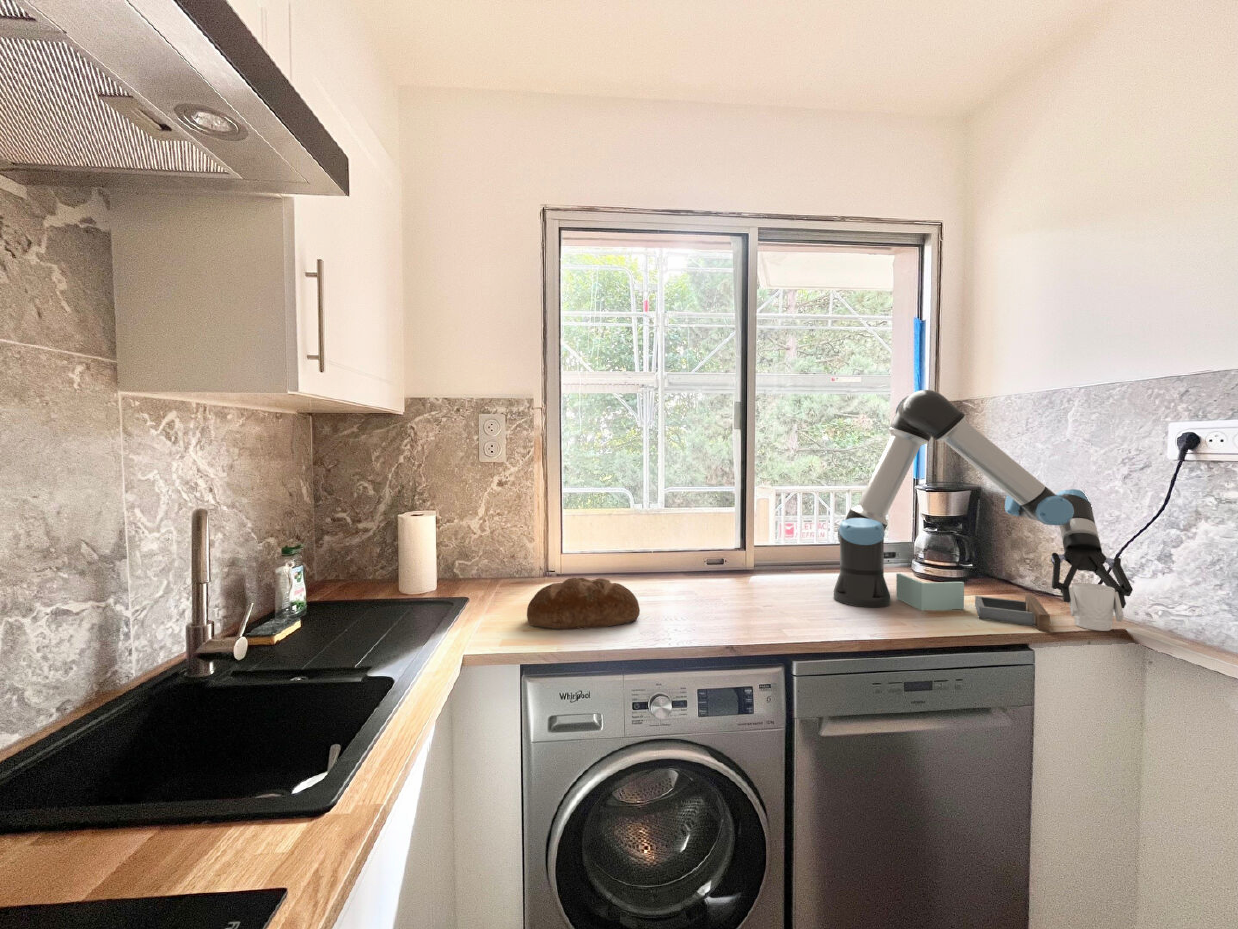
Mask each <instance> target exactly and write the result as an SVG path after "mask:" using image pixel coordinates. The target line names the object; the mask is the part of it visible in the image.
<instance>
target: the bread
mask: <svg viewBox="0 0 1238 929" xmlns="http://www.w3.org/2000/svg"><path fill="white" fill-rule="evenodd" d="M640 612H641V609H640V605H639V601H638V598H637V597H636V596H635V594H634V593H633V591H631V590H630V589H628V588H627V587H626V586H624V585H622V584H620V583H619V582H611V581H610V580H609V579H607V578H606V579H605V578H602V577H601V578H596V579H591V580H590V579H588V578H584V577H570V578H567V579H565V580H564V581H563V582H554V583H551V584H549V585H546V586H544V587H541V589H539V590H538V591H537V592H536V593H535V594H534V596H533V597H532V598H531V600H530V601H529V603H528V606H527V608H526V617H527V618H526V619H527V622H528V623H529V624H530V626H534V627H541V628H546V627H547V629H548V628H549V629H554V628H555V629H556V628H557V629H556V630H571V629H573V630H575V629H576V630H577V629H580V628H582V629H593V628H594V629H595V628H606V626H607V627H611V626H612V627H613V626H617V625H623V624H628V623H631V622H633V621H635V620H637V619H638V617H639V616H640Z"/></svg>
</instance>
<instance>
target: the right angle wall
mask: <svg viewBox="0 0 1238 929" xmlns="http://www.w3.org/2000/svg"><path fill="white" fill-rule="evenodd" d="M895 575H896V582H895V583H896V586H895V587H896V591H895V592H896V593H895V594H896V598H897V600H898V599H899V600H898V601H900V600H901V601H900V602H902V601H904V602H903V603H905V602H906V603H905V604H907V603H908V604H907V605H908V606H911V607H913V608H915V607H916V608H915V609H917V608H918V609H917V610H919V609H920V610H919V611H921V610H922V611H924V610H931V611H953V610H952V609H964V610H965V582H964V581H944V582H943V581H941V582H939V581H938V582H937V581H936V582H935V581H933V582H923V581H920V580H918V579H915V578H913V577H911V576H908V575H905V574H903V573H899V572H898V573H896V574H895ZM949 609H950V610H949Z"/></svg>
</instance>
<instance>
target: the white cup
mask: <svg viewBox="0 0 1238 929" xmlns="http://www.w3.org/2000/svg"><path fill="white" fill-rule="evenodd" d="M1071 584H1072V586H1071V588H1073V591H1074V596H1075V601H1076V606H1077V613H1076V616H1074V624H1075V626H1077V627H1080V628H1083V629H1086V630H1091V631H1092V630H1093V631H1098V632H1099V631H1101V632H1109V631H1112V628H1113V627H1112V626H1113V618H1114V612H1115V611H1114V598H1115V589H1114V588H1112V587H1109V586H1106V585H1105V584H1100V583H1099V584H1098V583H1090V582H1074V583H1071Z"/></svg>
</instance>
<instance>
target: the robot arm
mask: <svg viewBox="0 0 1238 929" xmlns="http://www.w3.org/2000/svg"><path fill="white" fill-rule="evenodd" d="M888 430H889V433H890V437H889V439H888V441H887V443H886V445H885V449H884V450H883V452H882V454H881V456H880V459H879V460H878V462H877V465H876V466H875V469H874V470H873V473H872V474H871V477H870V479H869V481H868V483H867V484H866V487H865V490H864V492H863V494H862V496H861V498H860V500H859V502H858V503H857V505H855V506H852V507H850V509H849V511H848V513H847V515H846V517H845V519H843V520H842V521H841V523H840V525H839V527H838V531H837V539H838V543H839V565H840V566H839V574H838V577H837V580H836V583H835V586H834V588H833V599H834V600H836V601H837V602H840V603H842V604H844V605H849V606H853V607H854V606H856V607H860V608H861V607H862V608H863V607H865V608H882V607H887V606H889V605H891V593H890V591H889V588H888V584H887V582H886V579H885V575H884V570H885V568H884V567H885V564H884V562H885V561H884V560H885V559H884V557H885V555H884V554H885V552H884V551H885V542H884V541H885V535H886V534H885V531H886V529H887V527H888V525H889V522H888V519H887V515H888V513H889V510H890V509H891V507H892V505H893V503H894V500H895V499H896V496H897V494H898V493H899V491H900V488H901V486H902V485H903V482H904V480H905V478H906V476H907V475H908V472H909V470H910V468H911V466H912V464H913V462H914V460H915V458H916V456H917V454H918V452H919V450H920V448H921V447H922V446H924V445H925V444H929V443H930V440H931V438H933V439H934V440H935V441H936V442H943V443H945V444H946V445H947V446H948V447H950V448H951V449H952V450H953V451H955V452H956V453H957V454H958V455H959V456H960V457H961V458H962V459H964V460H965V461H967V462H968V463H969V464H970V465H972V466H973V467H974V468H975V469H976V470H978V471H979V472H980V473H981V474H982V475H983V476H985V478H987V479H988V480H989V481H990V482H991V483H992V484H994V485H995V486H996V487H998V488H999V489H1000V490H1001V491H1002V492H1004V493H1005V494H1006V498H1005V502H1004V510H1005V512H1006V514H1008V515H1010V516H1014V517H1018V518H1020V517H1021V518H1026V519H1030V520H1033V521H1037V522H1039V523H1042V524H1044V525H1046V526H1059V530H1060V535H1061V540H1062V546H1063V552H1064V553H1060V554H1058V553H1057V552H1052V554H1051V557H1050V561H1051V563H1052V576H1051V578H1052V579H1051V588H1052V589H1053V590H1059V591H1060V593H1061V595H1062V601H1063V602H1064V603H1068V605H1069V611H1070V616H1071V617H1075V616H1076V613H1077V606H1076V601H1075V596H1074V591H1073V588H1072V587H1070V586H1071V584H1072V581H1073V579H1074V578H1075V575H1076V574H1077V571H1079V572H1080V571H1081V572H1082V571H1083V572H1084V571H1088V572H1092V573H1094V575H1096V576H1097V577H1099V579H1100V580H1101V581H1102V582H1103V583H1104V585H1105V586H1109V587H1112V588H1114V589H1115V598H1114V611H1113V612H1114V615H1115V618H1116V622H1120V623H1121V622H1122V621H1123V619H1124V616H1125V615H1124V610H1123V609H1125V607H1126V605H1127V603H1126V598H1125V597H1130V596H1131V595H1132V592H1133V591H1134V589H1133V587H1132V585H1131V583H1130V580H1129V579H1128V577H1127V575H1126V572H1125V571H1124V569H1123V567H1122V564H1121V563H1122V562H1121V561H1122V559H1121V558H1120V557H1118V556H1116V557H1114V558H1112V557H1107V556H1106V555H1105V554H1104V552H1103V549H1102V544H1101V541H1100V539H1099V538H1100V536H1099V532H1098V529H1097V524H1096V521H1095V516H1094V512H1093V506H1092V507H1091V505H1092V503H1091V501H1090V502H1089V501H1088V499H1087V497H1086V496H1085V494H1084V493H1085V492H1084V491H1083V492H1084V493H1083V492H1082V490H1080V489H1075V488H1072V489H1071V488H1070V489H1063V490H1061V491H1058V492H1057V493H1055V492H1053V490H1051V489H1050V488H1048V487H1047V486H1046V485H1045V484H1044V483H1042V482H1041V481H1040V480H1039V479H1038V478H1036V477H1035V476H1033V474H1031V473H1030V472H1029V471H1028V470H1026V469H1025V467H1023V466H1022V465H1020V464H1019V463H1018V462H1017V461H1015V460H1014V459H1013V458H1012V457H1010V456H1009V455H1008V454H1007V453H1006V452H1004V451H1003V450H1002V449H1000V447H998V446H997V445H996V444H995V443H993V442H992V441H991V440H990V439H988V438H987V437H986V436H985V435H984V434H982V433H981V432H980V431H979V430H978V429H977V428H975V427H974V426H972V425H971V423H969V422H967V415H966V414H965V413H964V412H962V411H961V410H959V409H958V407H956V405H954V404H953V403H952V402H951V401H949V400H948V399H947V398H946V397H945V396H944V395H942V394H941V393H940V392H937V391H935V390H932V389H923V390H922V389H921V390H917V391H914V392H913V393H911V394H910V395H908V396H906V397H904V398H903V399H902V400H901V401H900V402H899V403H898V405H897V407H896V409H895V414H894V417H893V419H892V420H891V423H890V425H889V428H888ZM1063 560H1064V561H1065V562H1067V564H1069V565H1070V568H1069V570H1068V572H1067V574H1066V576H1065V579H1064V581H1063V582H1060V579H1061V578H1060V576H1061V564H1062V562H1063ZM1106 563H1107V565H1108V567H1109V568H1111V569H1112V573H1113V575H1114V577H1115V578H1114V577H1113V576H1112V575H1111V574H1110V572H1108V570H1107V569H1106V567H1105V565H1104V564H1106ZM1115 579H1116V580H1115Z"/></svg>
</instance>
